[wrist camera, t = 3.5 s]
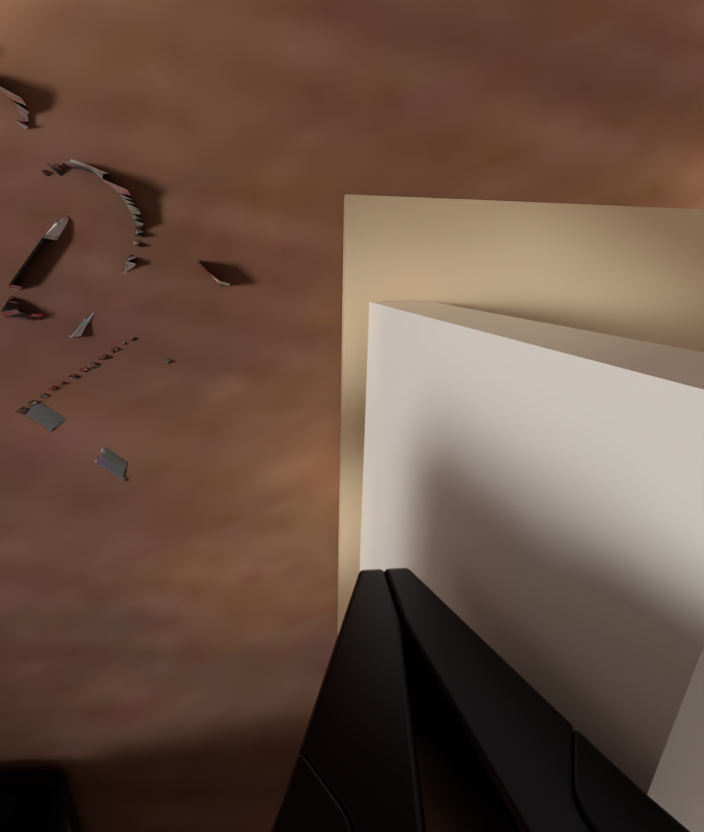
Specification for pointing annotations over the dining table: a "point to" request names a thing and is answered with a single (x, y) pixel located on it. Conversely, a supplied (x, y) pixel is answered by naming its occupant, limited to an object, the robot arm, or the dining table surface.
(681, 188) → the dining table surface
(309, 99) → the dining table surface
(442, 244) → the mat
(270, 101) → the dining table surface
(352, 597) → the robot arm
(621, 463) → the tile
